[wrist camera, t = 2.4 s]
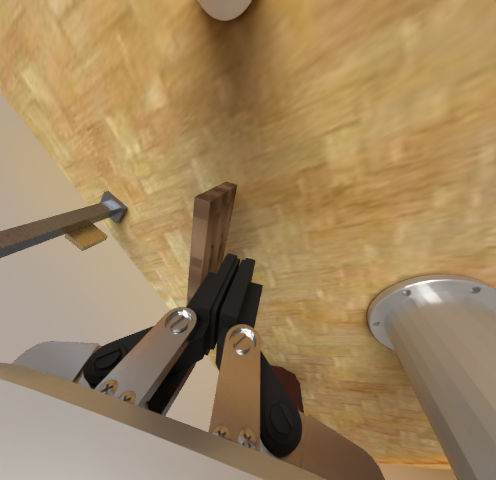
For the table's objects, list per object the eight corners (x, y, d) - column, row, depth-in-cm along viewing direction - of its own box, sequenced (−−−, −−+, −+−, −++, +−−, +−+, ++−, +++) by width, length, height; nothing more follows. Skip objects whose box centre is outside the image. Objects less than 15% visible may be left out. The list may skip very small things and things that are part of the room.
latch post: (135, 215, 25) (21, 263, 15) (127, 229, 26) (19, 281, 16) (108, 191, 24) (-33, 223, 14) (101, 207, 26) (-30, 247, 15)
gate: (215, 295, 26) (193, 335, 21) (208, 292, 26) (184, 331, 21) (237, 184, 18) (210, 201, 12) (226, 181, 18) (194, 197, 13)
